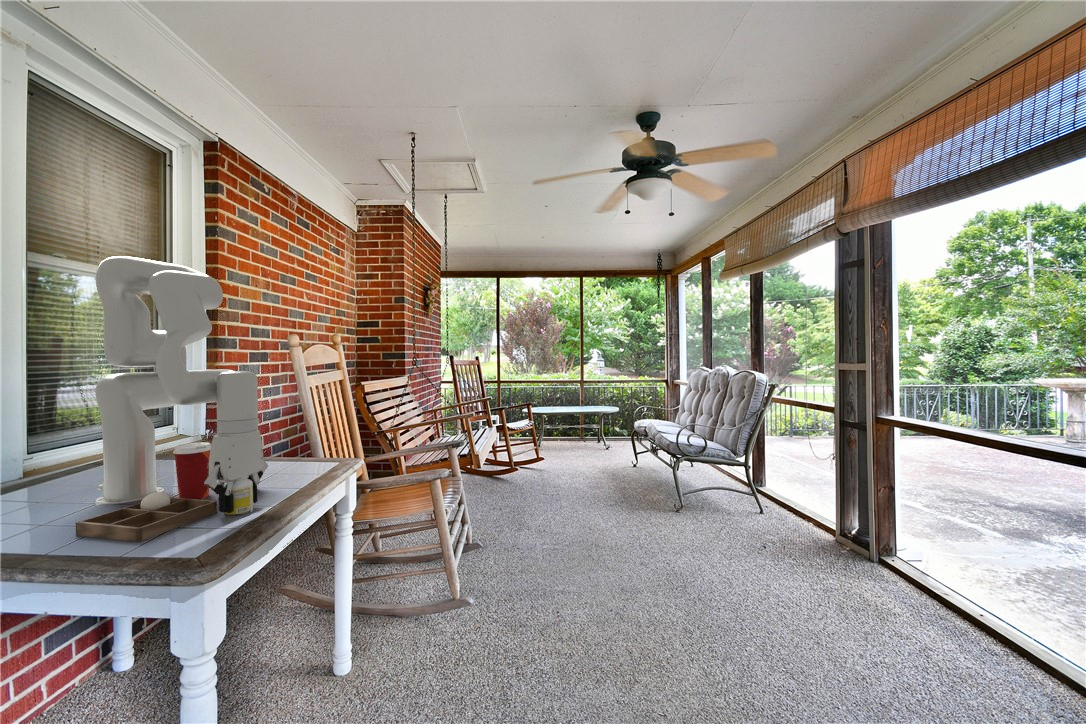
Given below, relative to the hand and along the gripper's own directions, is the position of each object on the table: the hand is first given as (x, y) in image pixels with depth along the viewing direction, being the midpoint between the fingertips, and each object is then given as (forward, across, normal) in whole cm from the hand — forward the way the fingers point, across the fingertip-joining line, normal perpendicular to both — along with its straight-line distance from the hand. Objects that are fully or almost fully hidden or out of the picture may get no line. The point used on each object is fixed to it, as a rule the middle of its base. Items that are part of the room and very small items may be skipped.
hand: (238, 506), depth 99 cm
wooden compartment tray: (+2, +9, -12) cm, 16 cm away
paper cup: (+3, -6, -20) cm, 21 cm away
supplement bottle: (+2, 0, 0) cm, 2 cm away
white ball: (+1, +5, -16) cm, 17 cm away
